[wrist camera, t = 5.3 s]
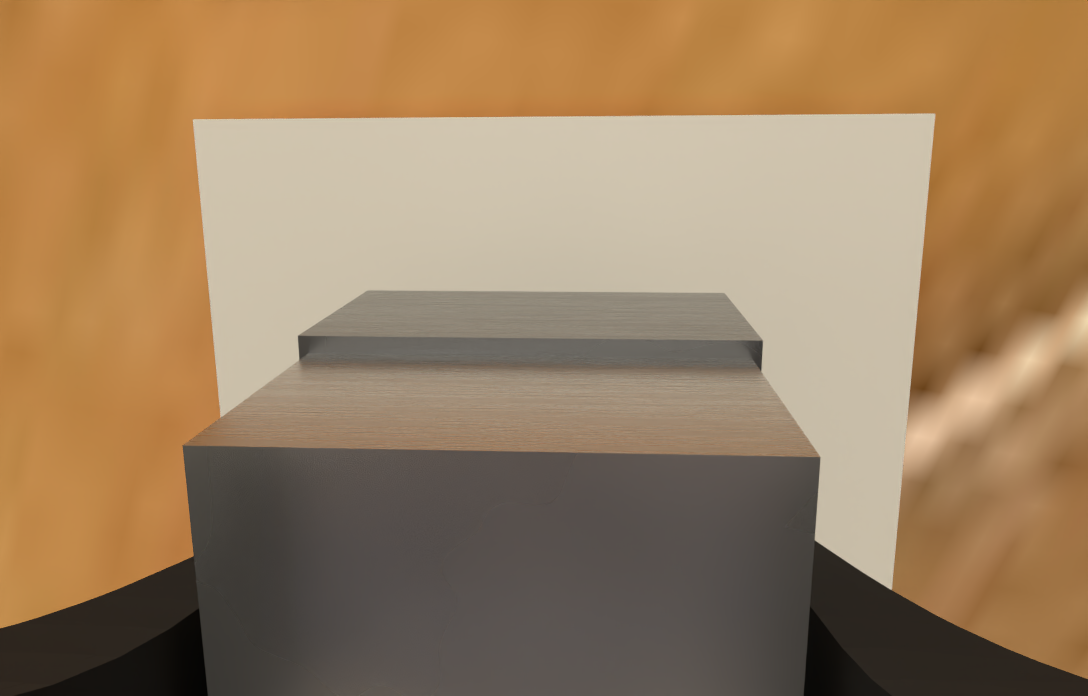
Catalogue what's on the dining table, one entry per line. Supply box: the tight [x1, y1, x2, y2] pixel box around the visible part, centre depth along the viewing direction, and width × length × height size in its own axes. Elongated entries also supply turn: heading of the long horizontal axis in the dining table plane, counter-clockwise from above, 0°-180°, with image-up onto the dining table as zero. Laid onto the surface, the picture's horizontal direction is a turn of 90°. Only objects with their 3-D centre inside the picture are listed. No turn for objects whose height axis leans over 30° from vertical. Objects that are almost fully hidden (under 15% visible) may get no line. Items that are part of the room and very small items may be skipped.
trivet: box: [193, 114, 935, 590], centre depth 17 cm, size 12×12×2 cm
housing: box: [183, 290, 821, 696], centre depth 10 cm, size 7×5×6 cm
